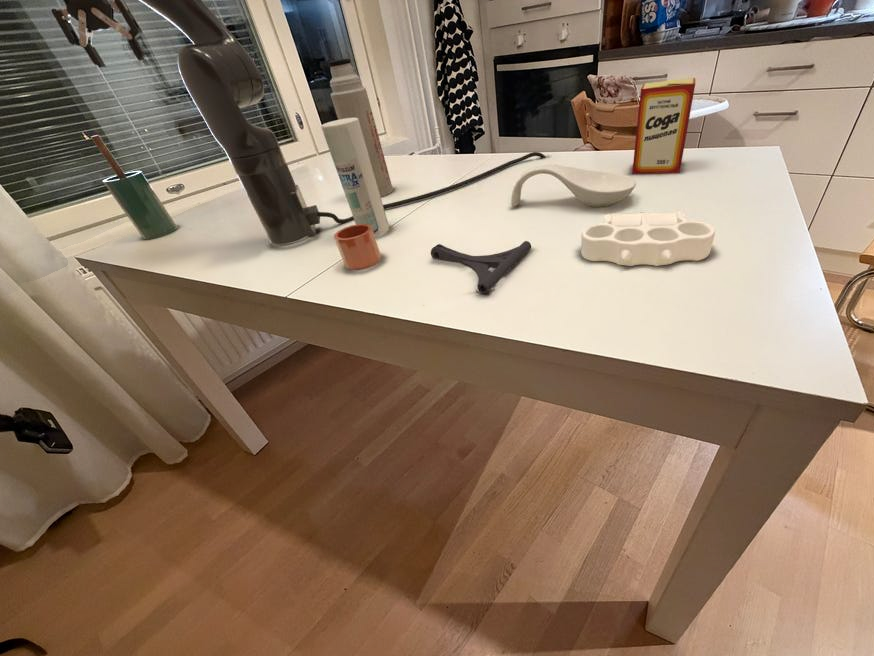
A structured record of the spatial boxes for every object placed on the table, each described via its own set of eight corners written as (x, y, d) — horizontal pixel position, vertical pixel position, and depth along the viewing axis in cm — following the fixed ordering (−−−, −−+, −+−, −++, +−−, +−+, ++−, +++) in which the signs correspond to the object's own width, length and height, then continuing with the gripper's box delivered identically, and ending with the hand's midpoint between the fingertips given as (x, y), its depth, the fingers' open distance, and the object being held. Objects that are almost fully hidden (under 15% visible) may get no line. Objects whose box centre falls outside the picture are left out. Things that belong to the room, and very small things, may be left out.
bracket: (457, 241, 72) (454, 227, 70) (531, 250, 65) (530, 234, 63) (408, 280, 63) (404, 264, 61) (488, 295, 56) (485, 278, 54)
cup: (181, 224, 106) (146, 168, 97) (172, 234, 100) (133, 176, 91) (150, 231, 105) (111, 176, 96) (138, 241, 99) (96, 184, 90)
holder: (380, 252, 73) (370, 220, 69) (383, 266, 68) (373, 233, 64) (346, 261, 72) (334, 229, 68) (347, 276, 67) (333, 243, 63)
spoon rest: (634, 189, 79) (638, 150, 75) (634, 212, 71) (639, 169, 66) (518, 195, 86) (516, 159, 82) (506, 216, 78) (503, 177, 73)
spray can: (352, 238, 80) (312, 127, 67) (372, 225, 84) (337, 118, 72) (378, 240, 77) (341, 125, 65) (396, 227, 82) (365, 116, 69)
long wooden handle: (170, 225, 104) (109, 132, 90) (165, 231, 101) (100, 135, 87) (153, 229, 104) (88, 136, 90) (147, 235, 100) (78, 139, 86)
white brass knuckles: (700, 226, 63) (716, 270, 52) (584, 229, 68) (578, 270, 58) (705, 205, 61) (723, 247, 50) (585, 210, 66) (578, 249, 55)
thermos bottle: (397, 186, 104) (363, 55, 87) (386, 197, 99) (346, 58, 81) (370, 189, 106) (331, 60, 88) (357, 199, 101) (313, 64, 83)
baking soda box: (632, 174, 86) (641, 86, 76) (635, 165, 91) (644, 81, 81) (679, 172, 83) (695, 81, 73) (680, 163, 87) (695, 75, 77)
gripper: (110, -36, 85) (160, 58, 95) (38, -26, 83) (96, 69, 93) (94, -42, 79) (149, 58, 89) (16, -31, 77) (81, 70, 87)
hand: (122, 64), depth 91 cm, fingers open, 8 cm apart
